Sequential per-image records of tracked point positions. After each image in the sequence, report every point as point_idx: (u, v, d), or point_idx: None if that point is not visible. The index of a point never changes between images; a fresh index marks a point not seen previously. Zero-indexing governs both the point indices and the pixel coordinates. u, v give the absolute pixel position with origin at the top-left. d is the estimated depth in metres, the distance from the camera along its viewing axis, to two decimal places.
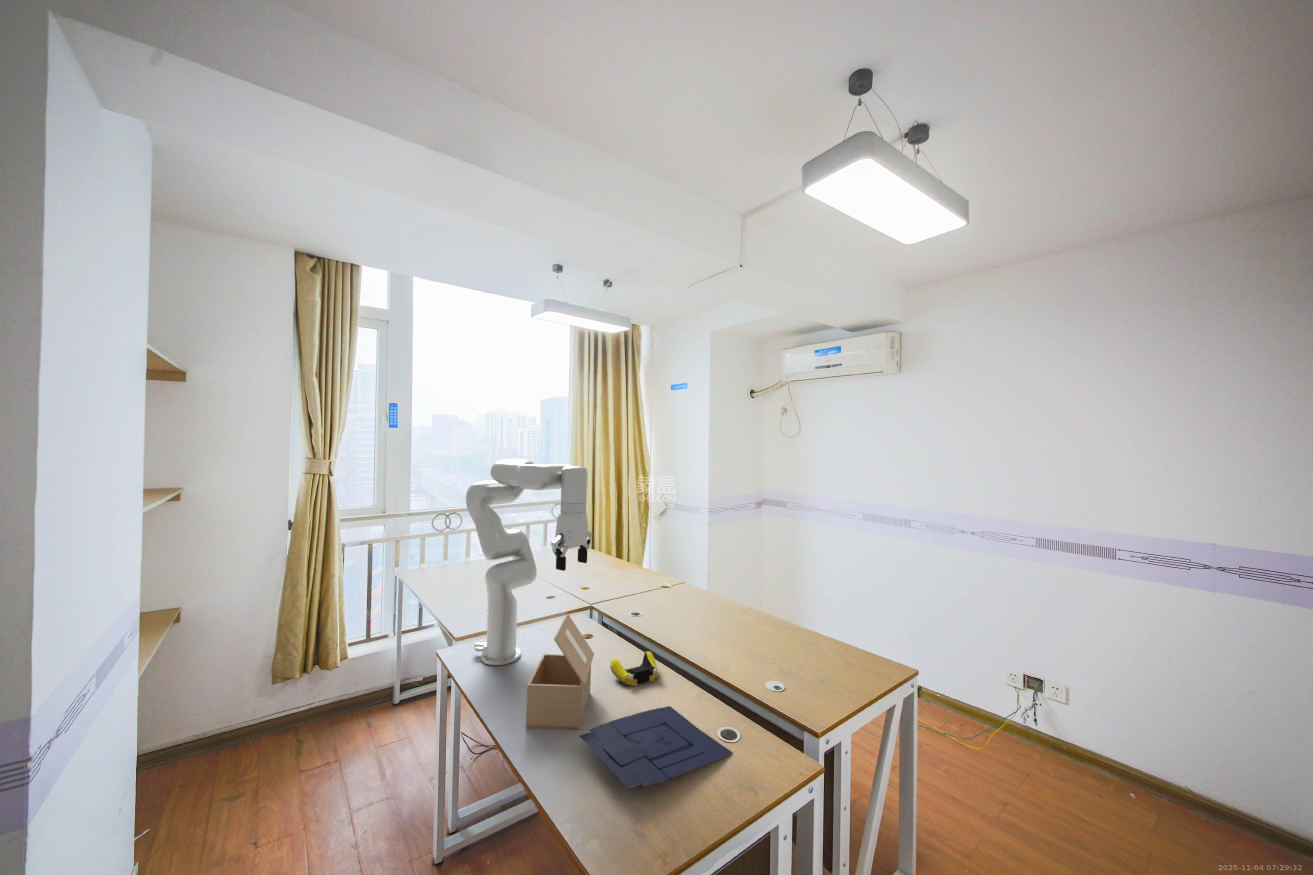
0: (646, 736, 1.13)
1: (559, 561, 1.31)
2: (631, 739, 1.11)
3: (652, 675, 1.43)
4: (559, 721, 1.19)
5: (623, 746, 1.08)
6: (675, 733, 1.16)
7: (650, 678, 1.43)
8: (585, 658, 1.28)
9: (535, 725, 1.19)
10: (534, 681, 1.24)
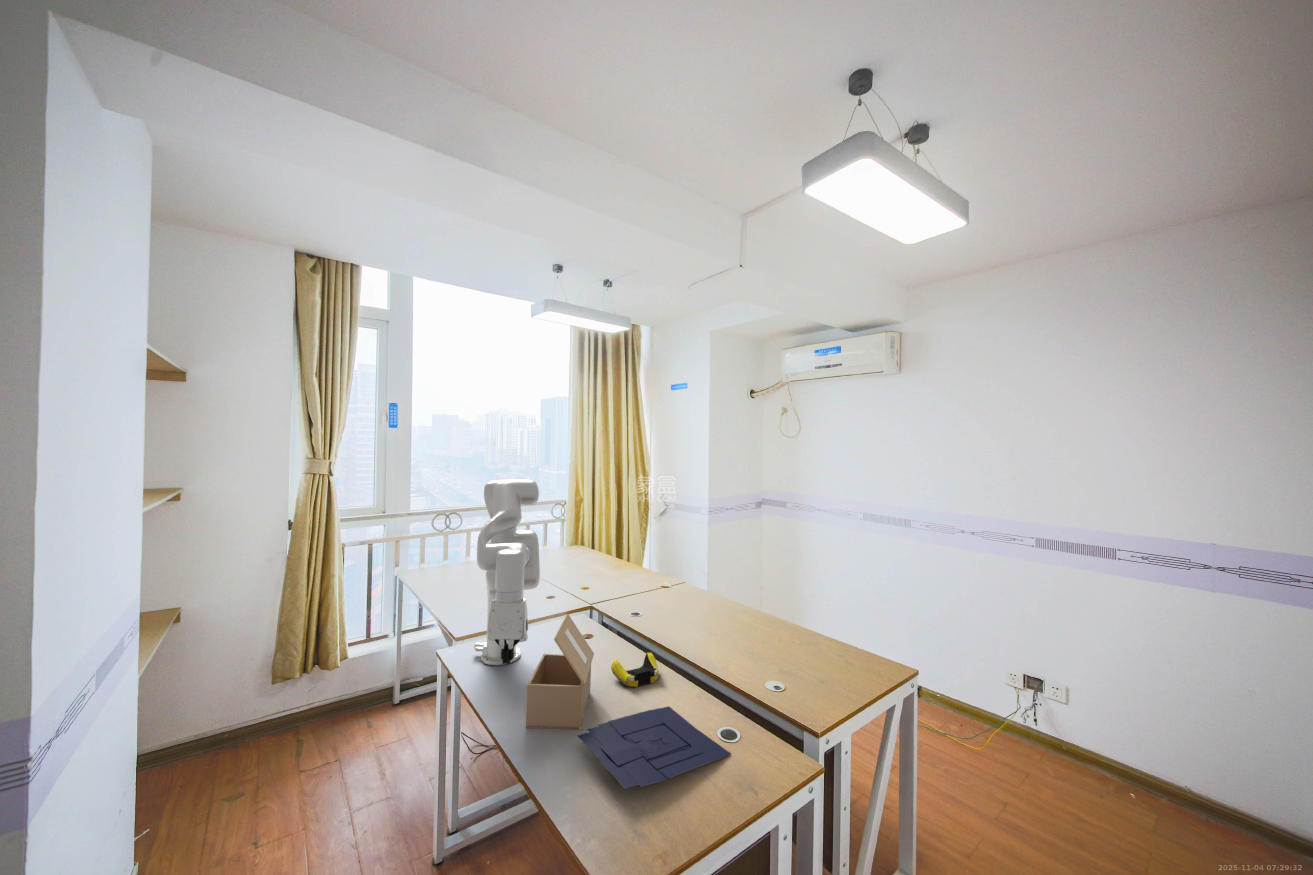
0: (644, 737, 1.13)
1: (513, 651, 1.28)
2: (629, 739, 1.11)
3: (653, 676, 1.42)
4: (559, 721, 1.19)
5: (621, 746, 1.08)
6: (673, 733, 1.16)
7: (651, 679, 1.42)
8: (585, 658, 1.28)
9: (535, 725, 1.19)
10: (534, 681, 1.24)
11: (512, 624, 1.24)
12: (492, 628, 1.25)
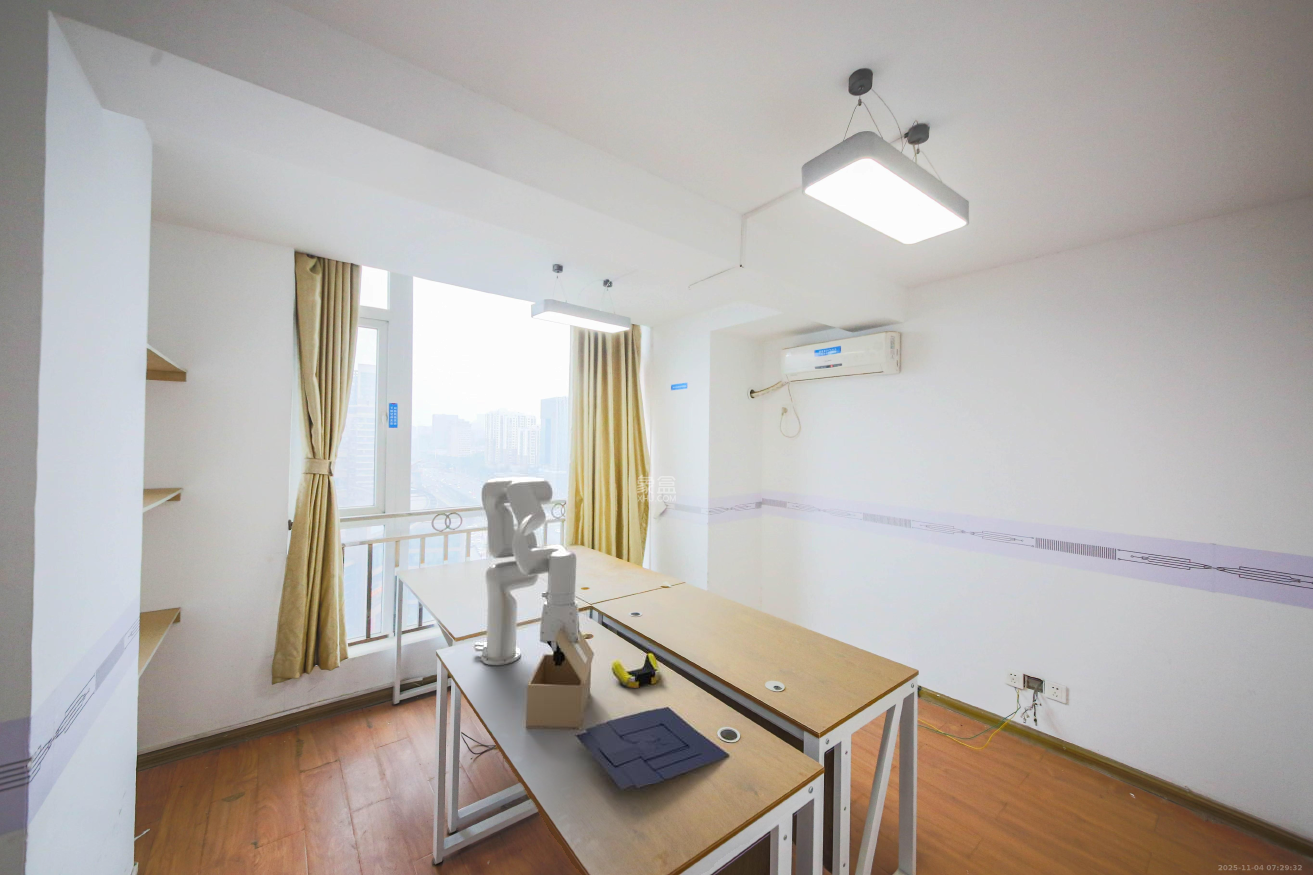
0: (642, 737, 1.13)
1: None
2: (627, 739, 1.11)
3: (654, 677, 1.42)
4: (559, 721, 1.19)
5: (619, 746, 1.08)
6: (672, 734, 1.16)
7: (652, 680, 1.41)
8: (585, 658, 1.28)
9: (535, 725, 1.19)
10: (534, 681, 1.24)
11: (565, 626, 1.24)
12: (545, 630, 1.25)
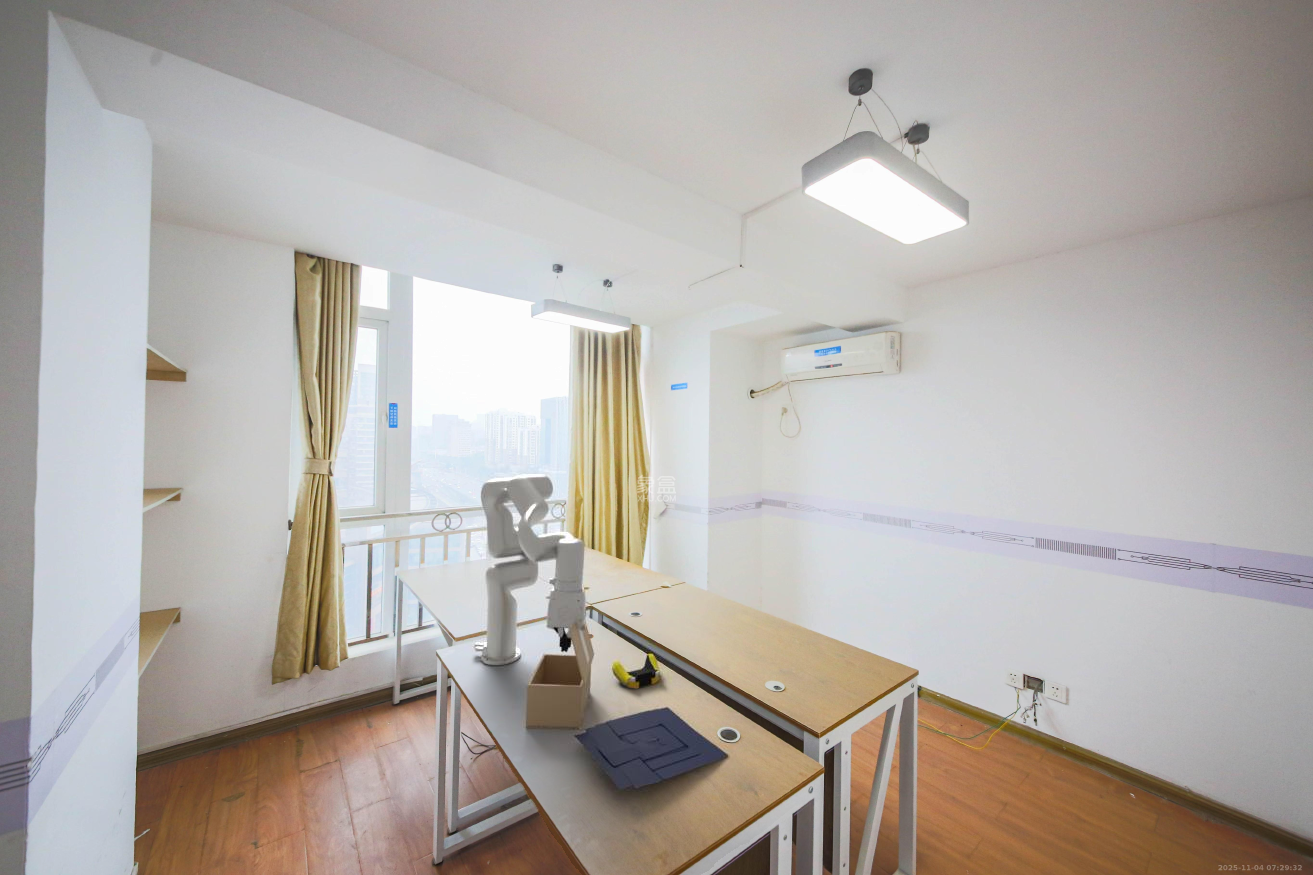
0: (641, 737, 1.13)
1: None
2: (626, 740, 1.11)
3: (654, 678, 1.41)
4: (559, 721, 1.19)
5: (617, 747, 1.08)
6: (671, 734, 1.16)
7: (652, 681, 1.41)
8: (588, 657, 1.28)
9: (535, 725, 1.19)
10: (534, 681, 1.24)
11: (572, 613, 1.25)
12: (552, 616, 1.25)
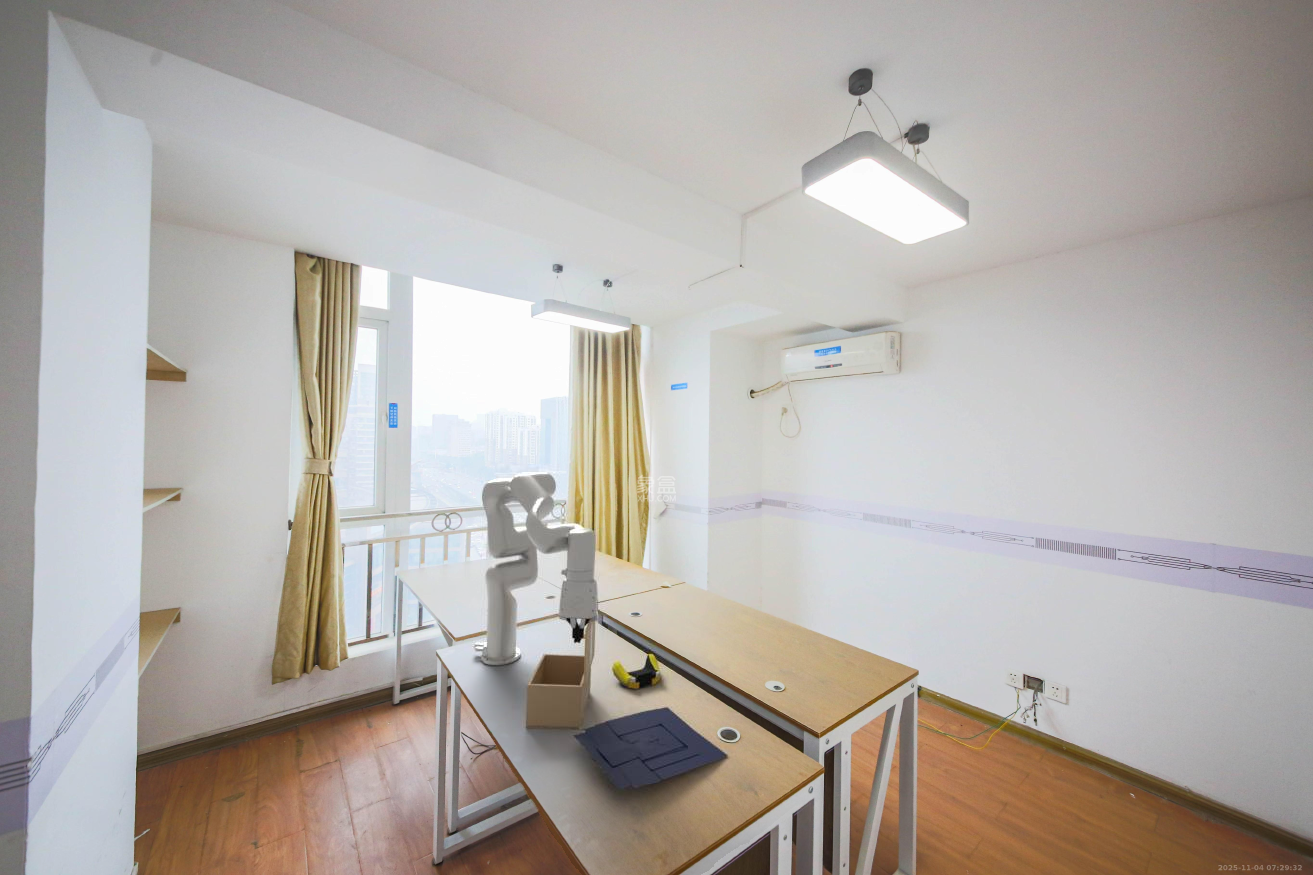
0: (641, 737, 1.12)
1: (583, 631, 1.28)
2: (625, 740, 1.11)
3: (655, 678, 1.41)
4: (559, 721, 1.19)
5: (617, 747, 1.08)
6: (670, 734, 1.16)
7: (653, 681, 1.41)
8: (591, 658, 1.28)
9: (535, 725, 1.19)
10: (534, 681, 1.24)
11: (584, 603, 1.25)
12: (564, 607, 1.25)
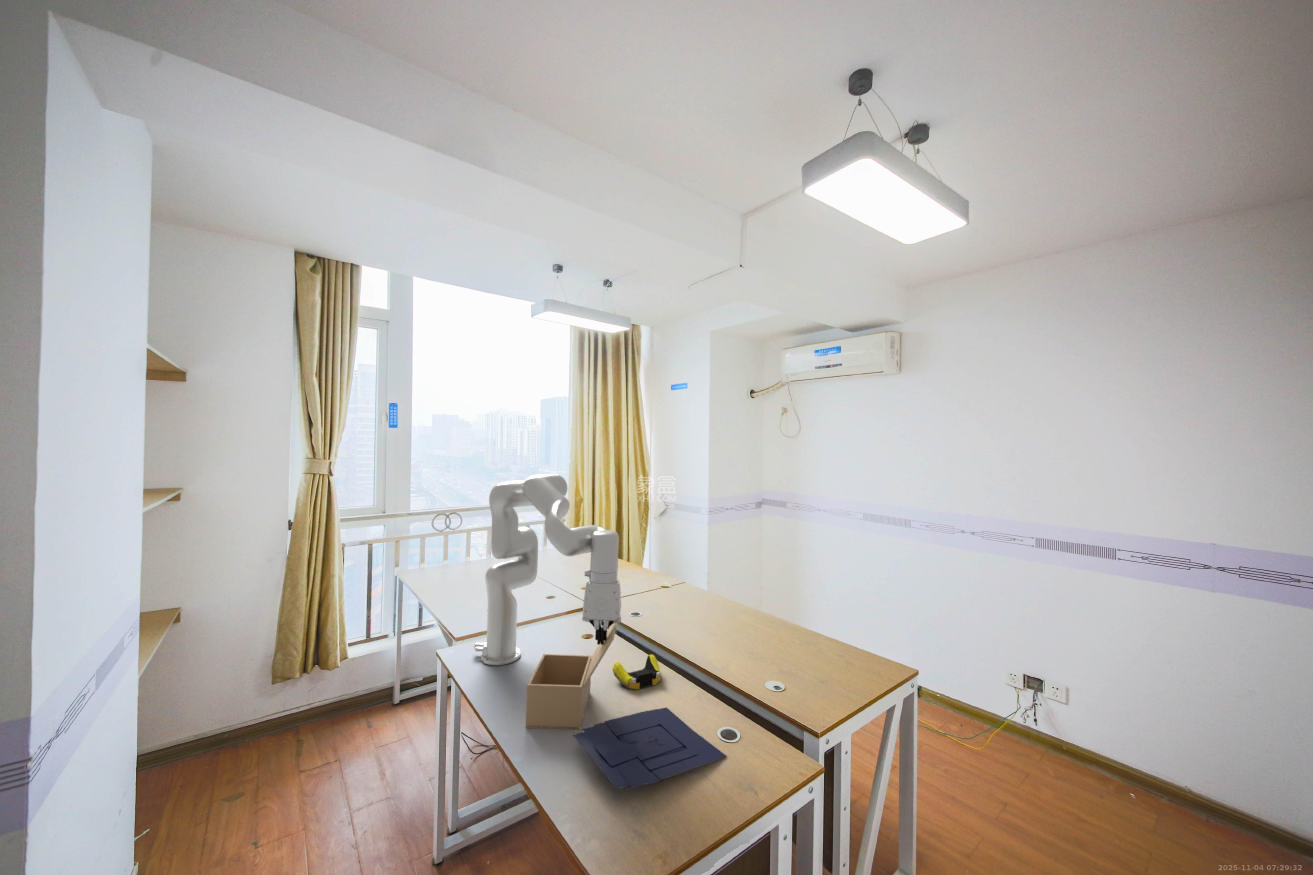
0: (640, 737, 1.12)
1: (606, 632, 1.28)
2: (624, 740, 1.11)
3: (655, 679, 1.41)
4: (559, 721, 1.19)
5: (615, 746, 1.08)
6: (669, 735, 1.15)
7: (653, 682, 1.41)
8: None
9: (535, 725, 1.19)
10: (534, 681, 1.24)
11: (608, 605, 1.24)
12: (588, 609, 1.25)
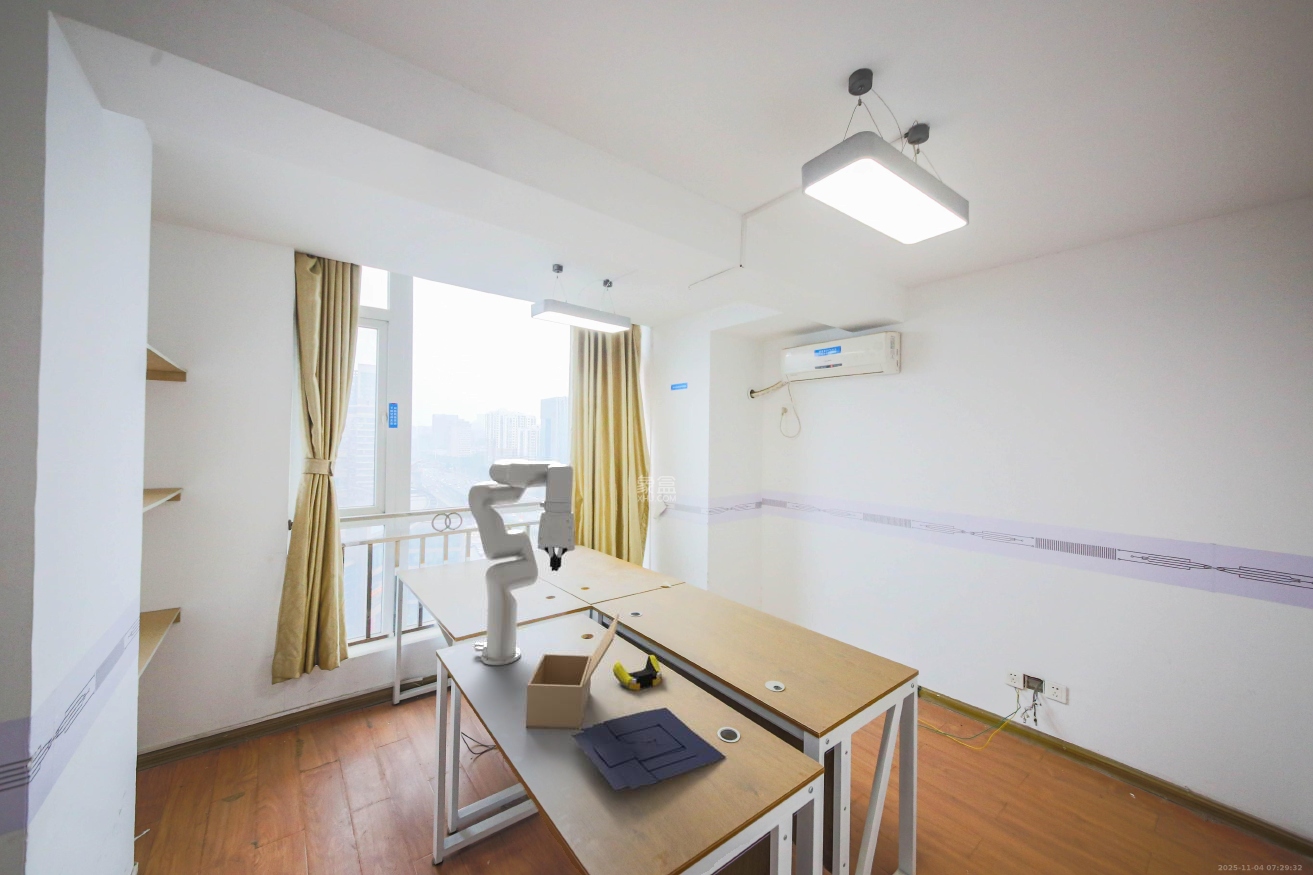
0: (639, 738, 1.12)
1: (560, 560, 1.35)
2: (623, 740, 1.11)
3: (655, 679, 1.41)
4: (559, 721, 1.19)
5: (614, 747, 1.08)
6: (668, 735, 1.15)
7: (653, 682, 1.40)
8: None
9: (535, 725, 1.19)
10: (534, 681, 1.24)
11: (562, 533, 1.32)
12: (543, 536, 1.32)
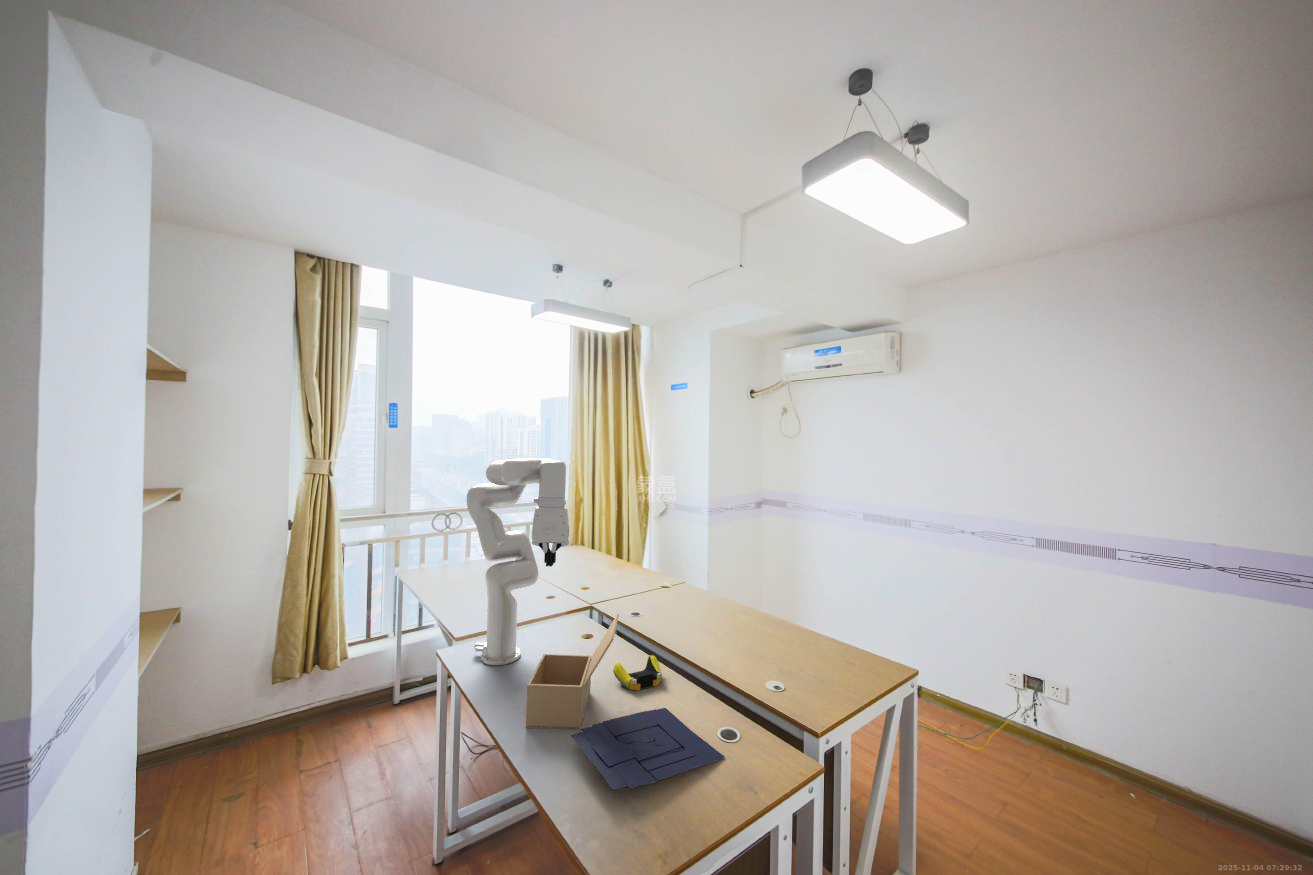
0: (638, 738, 1.12)
1: (555, 556, 1.36)
2: (622, 740, 1.11)
3: (656, 680, 1.40)
4: (559, 721, 1.19)
5: (613, 747, 1.08)
6: (668, 735, 1.15)
7: (654, 683, 1.40)
8: None
9: (535, 725, 1.19)
10: (534, 681, 1.24)
11: (555, 528, 1.33)
12: (536, 532, 1.33)
